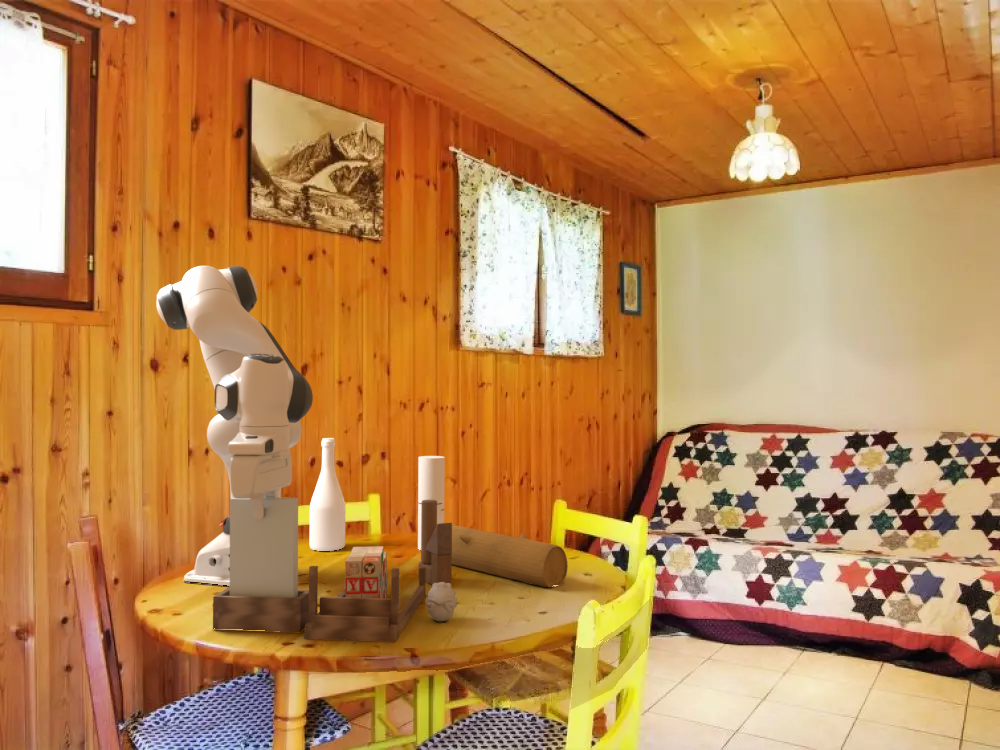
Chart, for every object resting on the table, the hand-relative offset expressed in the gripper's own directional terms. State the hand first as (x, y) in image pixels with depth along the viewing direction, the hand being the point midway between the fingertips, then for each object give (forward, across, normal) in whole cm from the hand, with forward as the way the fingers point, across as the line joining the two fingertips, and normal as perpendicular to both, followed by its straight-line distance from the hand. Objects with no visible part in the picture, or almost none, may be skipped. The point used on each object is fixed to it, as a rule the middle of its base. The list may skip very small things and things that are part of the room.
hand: (263, 516), depth 141 cm
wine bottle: (+20, -67, -9) cm, 71 cm away
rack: (+20, -8, +18) cm, 28 cm away
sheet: (+17, 0, 0) cm, 17 cm away
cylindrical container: (+20, -70, +19) cm, 75 cm away
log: (+21, -46, +38) cm, 63 cm away
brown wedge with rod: (+20, -35, +26) cm, 48 cm away
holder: (+20, 0, 0) cm, 20 cm away
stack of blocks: (+20, -13, +16) cm, 29 cm away
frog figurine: (+20, -7, +32) cm, 39 cm away
